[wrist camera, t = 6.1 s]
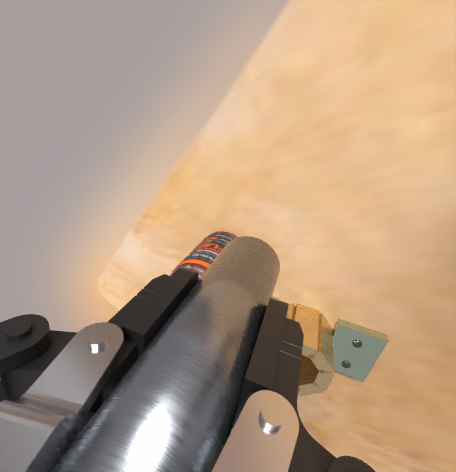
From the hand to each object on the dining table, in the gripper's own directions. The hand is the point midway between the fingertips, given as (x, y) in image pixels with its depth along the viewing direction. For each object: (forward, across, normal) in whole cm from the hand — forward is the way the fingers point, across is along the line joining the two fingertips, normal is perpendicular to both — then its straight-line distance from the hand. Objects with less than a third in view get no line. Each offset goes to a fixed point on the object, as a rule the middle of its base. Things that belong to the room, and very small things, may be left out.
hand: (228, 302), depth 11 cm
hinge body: (+19, -6, +17) cm, 26 cm away
